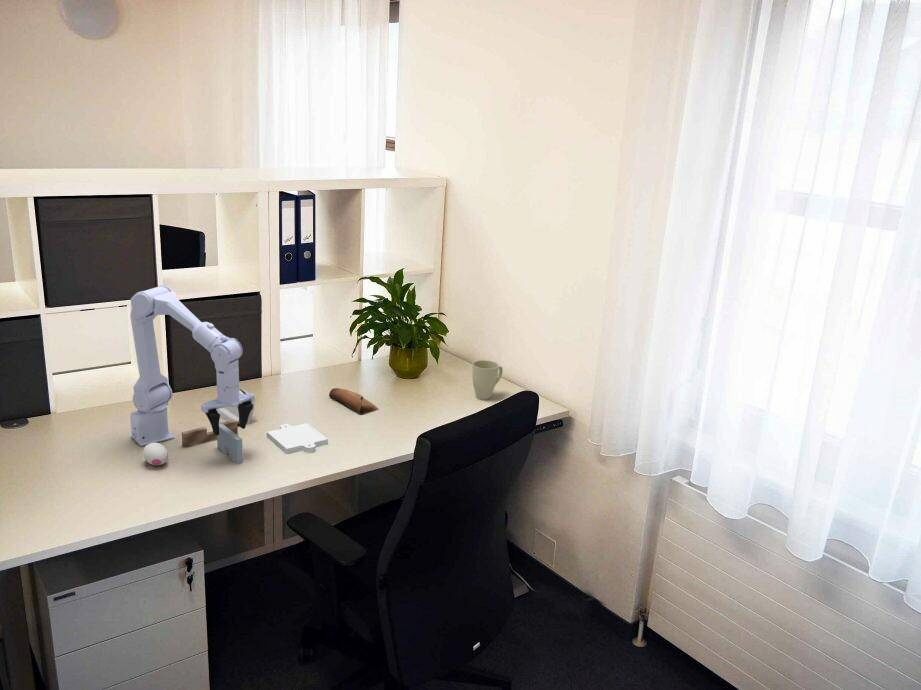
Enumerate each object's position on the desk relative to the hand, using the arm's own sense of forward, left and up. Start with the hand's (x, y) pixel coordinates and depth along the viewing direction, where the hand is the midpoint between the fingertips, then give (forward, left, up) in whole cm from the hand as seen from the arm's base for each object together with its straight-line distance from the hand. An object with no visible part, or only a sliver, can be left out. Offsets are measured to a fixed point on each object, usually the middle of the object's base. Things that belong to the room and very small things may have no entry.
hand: (229, 430), depth 212 cm
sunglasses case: (+50, +12, -8) cm, 52 cm away
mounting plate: (+20, -2, -8) cm, 22 cm away
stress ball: (-17, +6, -8) cm, 20 cm away
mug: (+91, -7, -8) cm, 92 cm away
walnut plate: (0, +12, -7) cm, 14 cm away
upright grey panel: (0, 0, -7) cm, 7 cm away
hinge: (+13, +24, -8) cm, 28 cm away
